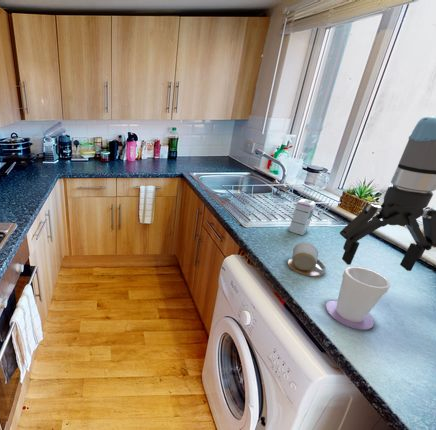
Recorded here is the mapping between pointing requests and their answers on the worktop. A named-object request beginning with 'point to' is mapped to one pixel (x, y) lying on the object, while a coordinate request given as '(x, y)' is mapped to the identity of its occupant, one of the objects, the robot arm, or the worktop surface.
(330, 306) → the lilac coaster
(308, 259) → the ceramic mug
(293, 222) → the syrup box
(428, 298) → the worktop surface
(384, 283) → the foam cup
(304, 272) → the cork coaster
